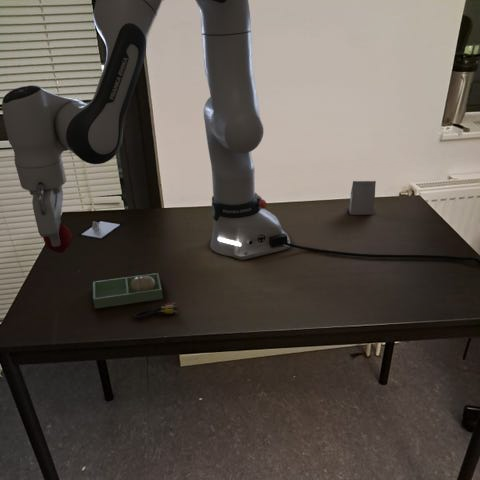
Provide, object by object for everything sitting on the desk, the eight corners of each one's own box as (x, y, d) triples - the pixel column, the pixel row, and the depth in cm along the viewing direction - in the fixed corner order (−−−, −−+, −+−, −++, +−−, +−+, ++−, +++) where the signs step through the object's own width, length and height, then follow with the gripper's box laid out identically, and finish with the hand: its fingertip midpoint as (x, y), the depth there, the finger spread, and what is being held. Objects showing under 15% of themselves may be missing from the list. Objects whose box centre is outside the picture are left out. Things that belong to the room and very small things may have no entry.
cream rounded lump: (155, 286, 127) (153, 271, 124) (157, 294, 124) (155, 279, 121) (131, 289, 126) (128, 274, 123) (132, 298, 122) (129, 283, 120)
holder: (159, 282, 129) (158, 272, 127) (163, 299, 122) (161, 289, 121) (95, 291, 126) (92, 281, 124) (95, 309, 120) (92, 299, 118)
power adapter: (91, 231, 154) (89, 222, 152) (96, 228, 156) (94, 218, 154) (100, 233, 153) (98, 223, 151) (105, 229, 155) (103, 220, 153)
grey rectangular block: (372, 214, 159) (376, 183, 154) (350, 214, 160) (353, 183, 154) (370, 209, 162) (374, 179, 157) (349, 209, 163) (352, 179, 157)
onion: (67, 260, 110) (58, 225, 106) (42, 257, 111) (33, 223, 107) (79, 247, 115) (71, 214, 110) (55, 245, 116) (47, 212, 111)
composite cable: (135, 321, 115) (133, 312, 114) (136, 309, 119) (135, 300, 118) (179, 318, 116) (178, 308, 114) (179, 306, 120) (178, 297, 118)
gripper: (55, 192, 95) (71, 257, 103) (60, 158, 112) (73, 217, 120) (19, 195, 94) (38, 261, 102) (30, 161, 110) (45, 220, 118)
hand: (57, 237), depth 111 cm, fingers closed on onion, 6 cm apart
